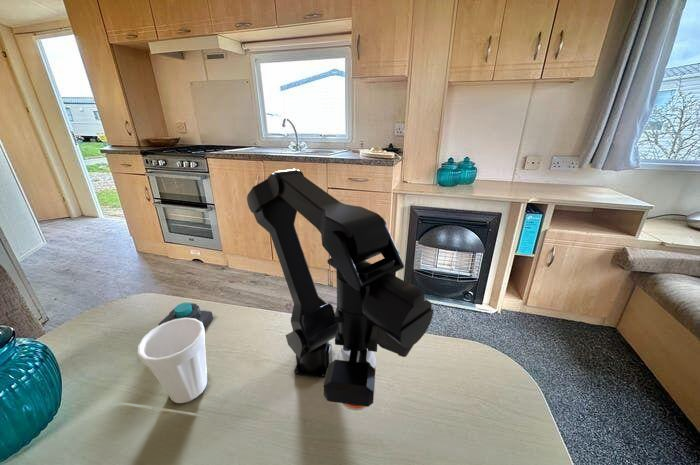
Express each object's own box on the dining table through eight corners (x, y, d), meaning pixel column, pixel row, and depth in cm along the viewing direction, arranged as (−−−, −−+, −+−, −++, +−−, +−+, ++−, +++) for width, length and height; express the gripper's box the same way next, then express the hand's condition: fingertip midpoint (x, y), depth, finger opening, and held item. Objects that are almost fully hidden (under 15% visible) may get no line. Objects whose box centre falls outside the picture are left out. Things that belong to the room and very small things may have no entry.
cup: (229, 374, 56) (216, 324, 50) (187, 423, 47) (167, 368, 42) (190, 361, 59) (175, 312, 53) (145, 404, 50) (121, 351, 45)
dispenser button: (172, 317, 66) (170, 311, 65) (182, 307, 69) (181, 301, 69) (186, 318, 66) (184, 312, 65) (195, 308, 69) (194, 303, 68)
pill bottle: (381, 399, 46) (385, 350, 41) (350, 420, 43) (351, 369, 38) (360, 371, 51) (361, 325, 46) (330, 388, 47) (328, 340, 43)
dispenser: (159, 331, 66) (155, 318, 65) (178, 313, 72) (174, 301, 71) (198, 336, 65) (194, 322, 64) (214, 317, 71) (210, 305, 70)
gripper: (422, 362, 29) (409, 450, 36) (411, 270, 46) (403, 341, 53) (320, 350, 31) (325, 437, 37) (345, 265, 48) (346, 335, 54)
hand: (356, 379), depth 45 cm, fingers closed on pill bottle, 6 cm apart
